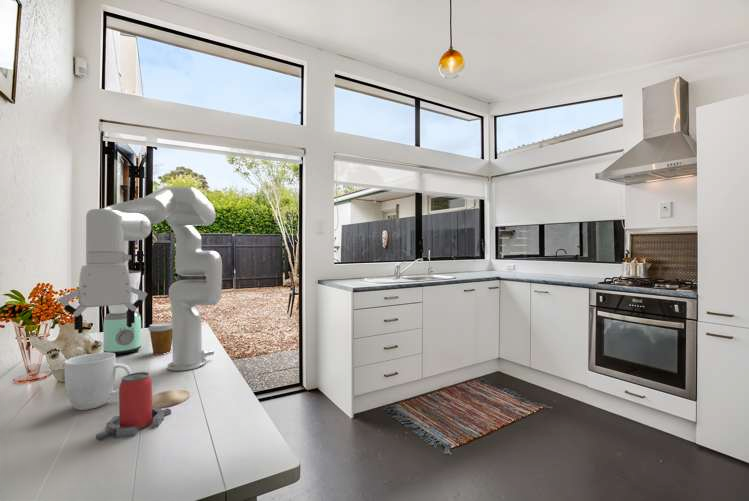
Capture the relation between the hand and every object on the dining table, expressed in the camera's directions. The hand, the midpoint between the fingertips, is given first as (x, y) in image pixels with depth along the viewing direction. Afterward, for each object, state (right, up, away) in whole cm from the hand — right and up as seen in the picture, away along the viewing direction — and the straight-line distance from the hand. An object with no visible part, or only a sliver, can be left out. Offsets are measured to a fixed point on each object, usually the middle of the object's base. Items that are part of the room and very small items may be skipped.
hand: (105, 329), depth 87 cm
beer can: (+8, -23, -1) cm, 25 cm away
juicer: (-41, -24, +63) cm, 79 cm away
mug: (-11, -23, +11) cm, 28 cm away
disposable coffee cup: (-23, -24, +61) cm, 69 cm away
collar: (+8, -23, -1) cm, 24 cm away
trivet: (+7, -23, +14) cm, 28 cm away
